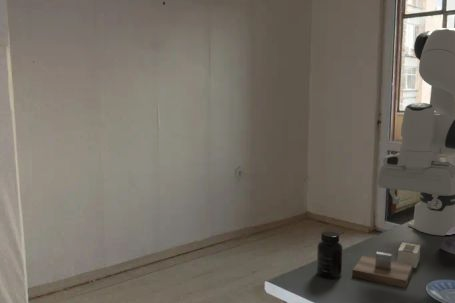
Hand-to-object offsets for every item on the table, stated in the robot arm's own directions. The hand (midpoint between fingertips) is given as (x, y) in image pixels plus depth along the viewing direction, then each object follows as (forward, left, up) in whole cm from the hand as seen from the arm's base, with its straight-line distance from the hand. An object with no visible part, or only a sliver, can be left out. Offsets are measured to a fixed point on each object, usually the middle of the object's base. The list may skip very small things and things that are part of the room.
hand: (412, 205), depth 134 cm
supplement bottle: (+21, -18, -18) cm, 33 cm away
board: (+13, -5, -17) cm, 22 cm away
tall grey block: (+13, -5, -15) cm, 21 cm away
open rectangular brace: (0, 0, -18) cm, 18 cm away
